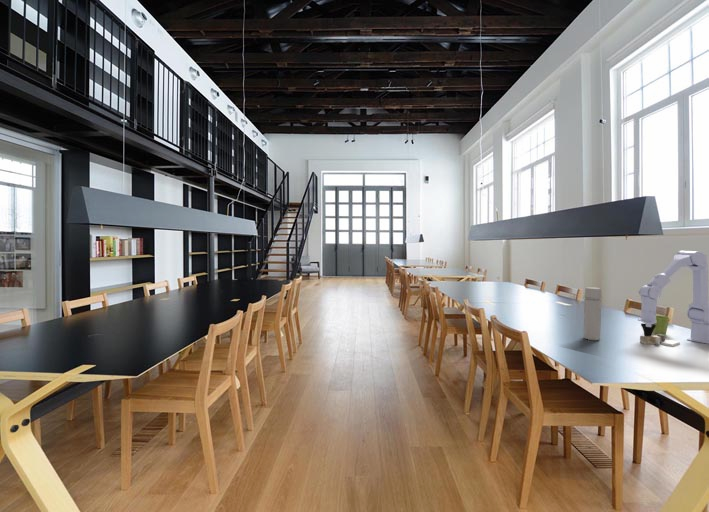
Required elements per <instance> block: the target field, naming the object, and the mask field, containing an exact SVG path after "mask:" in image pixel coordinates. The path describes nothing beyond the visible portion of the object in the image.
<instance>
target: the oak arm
mask: <svg viewBox="0 0 709 512" xmlns="http://www.w3.org/2000/svg"><path fill="white" fill-rule="evenodd" d="M655 337H659V338H660V344H662V342H664V341H666V334H665V335H662V334H656V335H652V336H644V335H640V336H639V343H641V344H643V343H644V344H643V345H650V344H649V343H655Z"/></svg>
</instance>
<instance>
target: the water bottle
mask: <svg viewBox="0 0 709 512" xmlns="http://www.w3.org/2000/svg"><path fill="white" fill-rule="evenodd" d="M602 293H603V292H602V288H600V287H593V286H590V287H589V286H588V287H587V286H586V287H585V291H584V296H583V297H582V298H584V302H583V303H584V305H583V339H585V340H587V339H588V341H599V340H601V329H602V328H601V327H602V324H601V323H602V321H601V320H602V299H603V295H602Z"/></svg>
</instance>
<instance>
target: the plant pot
mask: <svg viewBox="0 0 709 512" xmlns="http://www.w3.org/2000/svg"><path fill="white" fill-rule="evenodd" d="M670 320H671V317H669V316H665V315H656V321H657V322H656V323H654V324H655V325H656V327H655V328H654V330H653V332H652V335H653V334H654V335H657V334H662V335H665V336H666V335H667V331H668V326H669V323H670Z"/></svg>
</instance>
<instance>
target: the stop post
mask: <svg viewBox="0 0 709 512" xmlns="http://www.w3.org/2000/svg"><path fill="white" fill-rule="evenodd" d="M658 345H659V346H661V343H660V338H659V337H655V344H654V346H658Z"/></svg>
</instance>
